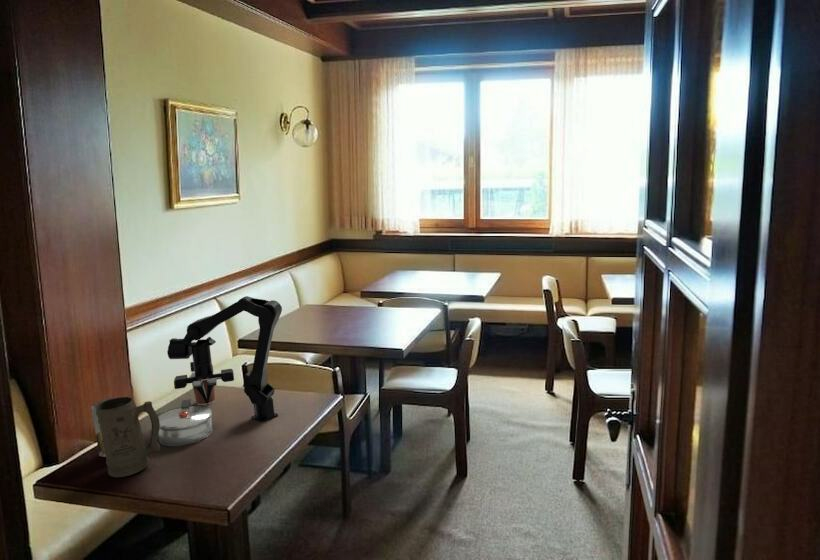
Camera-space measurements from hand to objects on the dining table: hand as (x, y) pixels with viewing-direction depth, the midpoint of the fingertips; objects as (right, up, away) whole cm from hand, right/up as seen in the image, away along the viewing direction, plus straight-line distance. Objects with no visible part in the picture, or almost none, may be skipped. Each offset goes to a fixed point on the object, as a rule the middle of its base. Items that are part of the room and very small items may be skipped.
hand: (207, 403), depth 214 cm
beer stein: (-10, -12, -33) cm, 37 cm away
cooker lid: (-4, -2, -10) cm, 11 cm away
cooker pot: (-5, -8, -10) cm, 14 cm away
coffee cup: (-6, -3, +17) cm, 18 cm away
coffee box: (-19, -11, -23) cm, 32 cm away
